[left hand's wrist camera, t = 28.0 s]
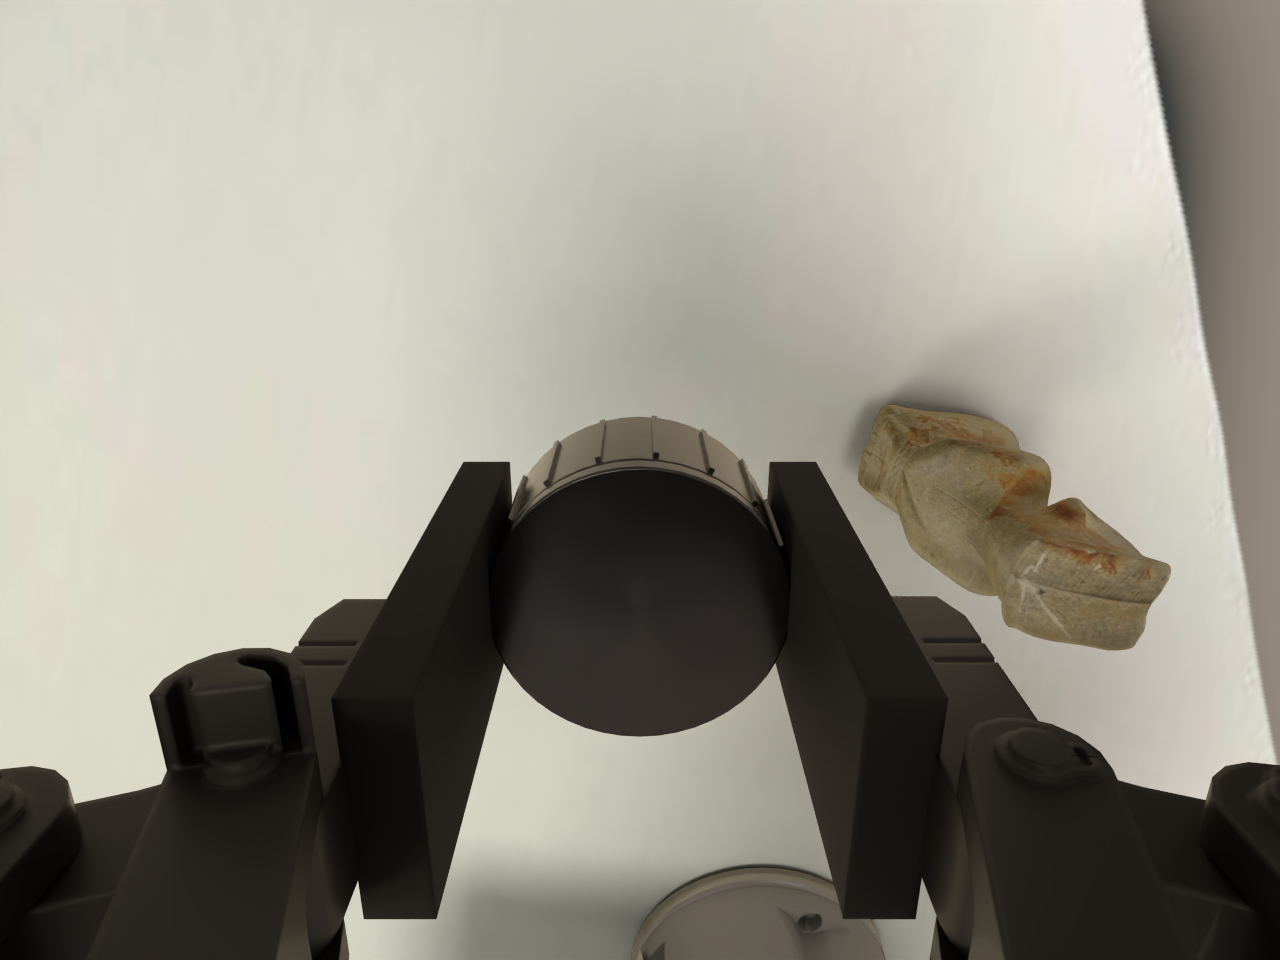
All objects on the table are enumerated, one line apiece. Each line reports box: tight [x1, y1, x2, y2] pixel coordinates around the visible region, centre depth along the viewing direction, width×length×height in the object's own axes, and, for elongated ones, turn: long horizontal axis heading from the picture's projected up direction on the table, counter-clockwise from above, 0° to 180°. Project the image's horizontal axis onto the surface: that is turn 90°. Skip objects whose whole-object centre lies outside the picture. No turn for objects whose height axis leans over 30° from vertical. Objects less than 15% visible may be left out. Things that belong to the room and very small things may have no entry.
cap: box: [489, 416, 791, 736], centre depth 13 cm, size 4×4×2 cm
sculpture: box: [858, 405, 1171, 650], centre depth 34 cm, size 6×7×15 cm
